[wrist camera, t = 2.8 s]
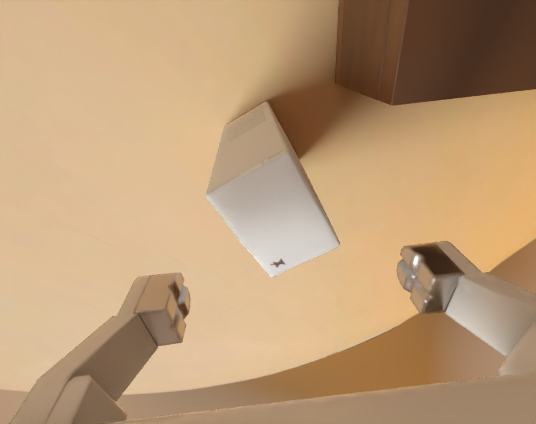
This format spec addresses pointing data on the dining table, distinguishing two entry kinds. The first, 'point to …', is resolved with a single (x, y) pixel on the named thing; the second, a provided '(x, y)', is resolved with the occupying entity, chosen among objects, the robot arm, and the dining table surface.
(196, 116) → the dining table surface
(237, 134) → the cosmetic box
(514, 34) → the shelf
